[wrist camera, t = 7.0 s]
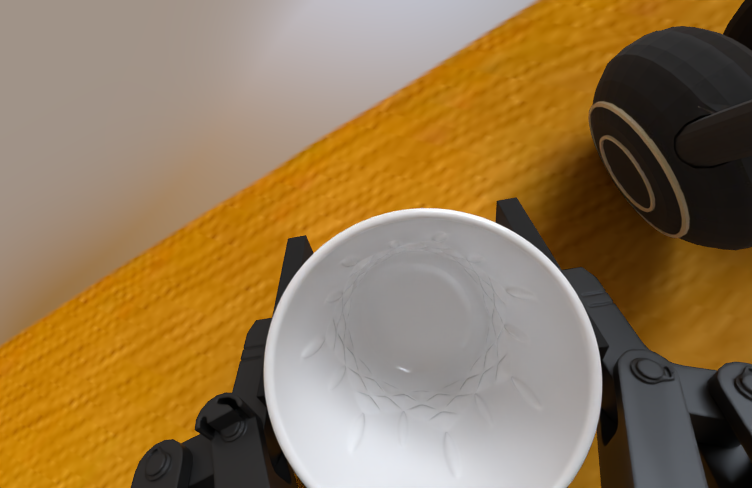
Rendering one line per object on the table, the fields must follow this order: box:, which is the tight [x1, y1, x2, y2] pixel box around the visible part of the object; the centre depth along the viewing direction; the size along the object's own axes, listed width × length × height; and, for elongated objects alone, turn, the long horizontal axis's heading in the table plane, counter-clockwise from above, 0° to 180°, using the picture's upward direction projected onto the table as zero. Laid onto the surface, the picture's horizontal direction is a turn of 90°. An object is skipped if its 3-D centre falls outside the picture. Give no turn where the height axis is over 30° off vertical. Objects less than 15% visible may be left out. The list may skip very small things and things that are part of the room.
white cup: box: [264, 208, 602, 488], centre depth 13 cm, size 8×8×10 cm
